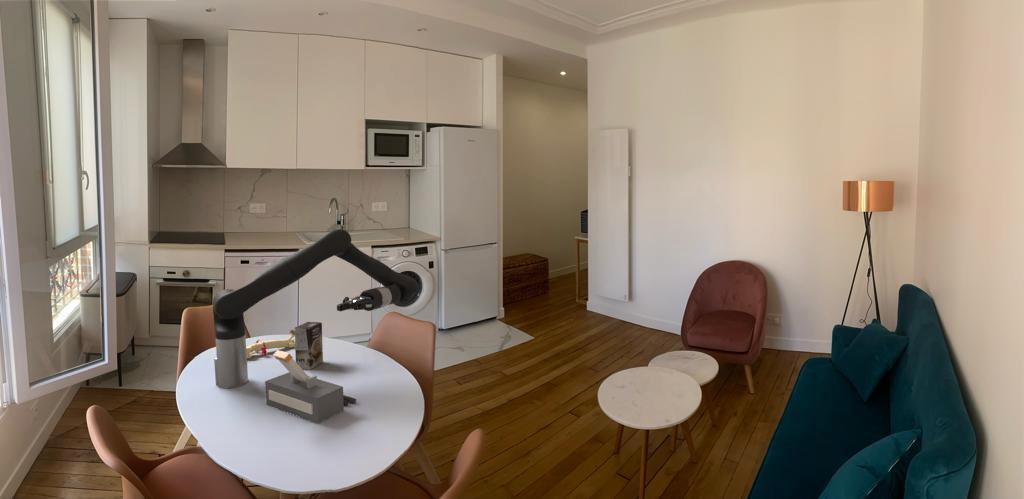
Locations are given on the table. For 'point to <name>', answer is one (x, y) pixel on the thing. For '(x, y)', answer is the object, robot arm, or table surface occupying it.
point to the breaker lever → (291, 365)
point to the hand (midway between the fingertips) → (338, 308)
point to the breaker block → (306, 397)
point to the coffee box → (309, 345)
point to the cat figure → (270, 345)
